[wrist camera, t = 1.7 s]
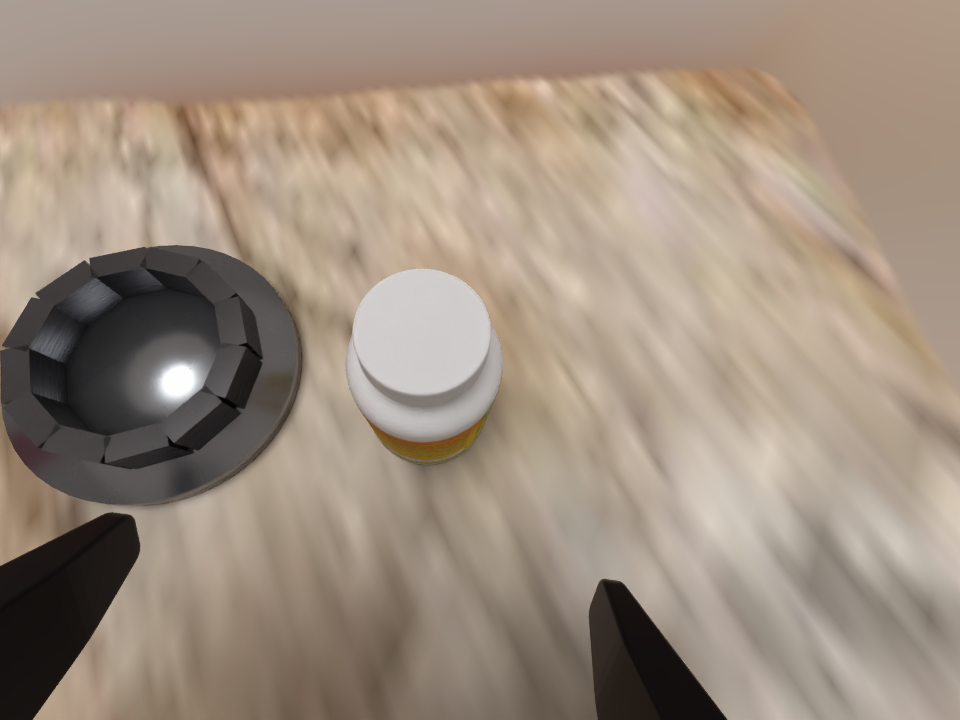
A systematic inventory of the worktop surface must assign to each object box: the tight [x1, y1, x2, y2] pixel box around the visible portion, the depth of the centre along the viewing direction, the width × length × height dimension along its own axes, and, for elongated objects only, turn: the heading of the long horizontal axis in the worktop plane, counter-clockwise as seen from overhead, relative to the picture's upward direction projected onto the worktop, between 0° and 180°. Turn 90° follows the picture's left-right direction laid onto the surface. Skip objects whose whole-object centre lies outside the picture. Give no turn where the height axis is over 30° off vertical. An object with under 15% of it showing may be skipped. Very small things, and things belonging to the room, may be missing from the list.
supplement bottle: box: [346, 269, 503, 465], centre depth 18 cm, size 5×5×10 cm
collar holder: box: [0, 245, 302, 506], centre depth 21 cm, size 12×12×3 cm
